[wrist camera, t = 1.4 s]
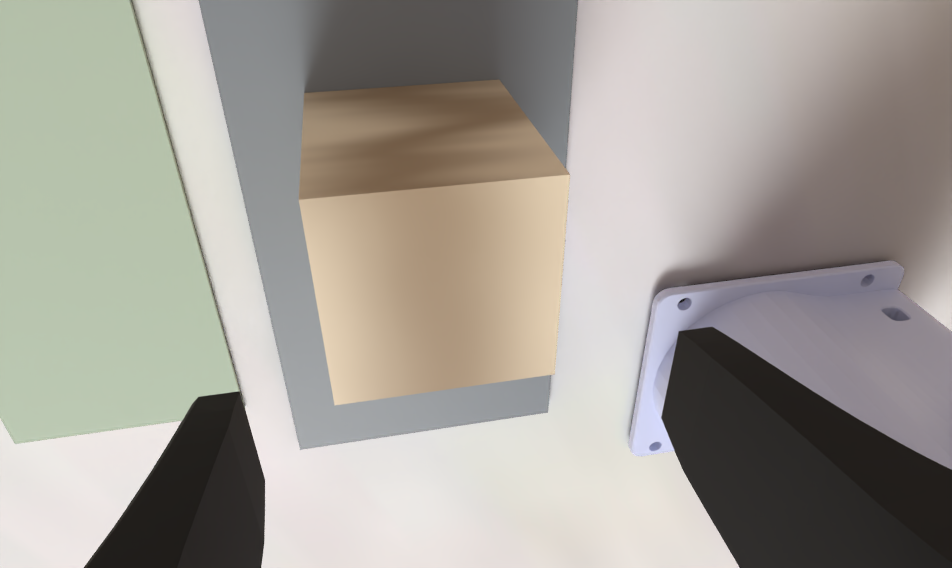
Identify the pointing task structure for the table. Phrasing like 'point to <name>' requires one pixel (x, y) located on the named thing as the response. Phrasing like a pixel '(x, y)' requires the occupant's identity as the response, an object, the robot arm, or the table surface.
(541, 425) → the table surface
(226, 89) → the grey plate
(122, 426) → the mat
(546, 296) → the maple block
